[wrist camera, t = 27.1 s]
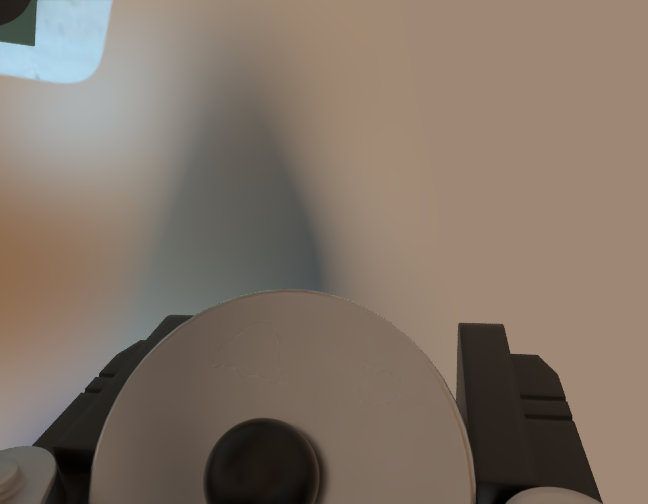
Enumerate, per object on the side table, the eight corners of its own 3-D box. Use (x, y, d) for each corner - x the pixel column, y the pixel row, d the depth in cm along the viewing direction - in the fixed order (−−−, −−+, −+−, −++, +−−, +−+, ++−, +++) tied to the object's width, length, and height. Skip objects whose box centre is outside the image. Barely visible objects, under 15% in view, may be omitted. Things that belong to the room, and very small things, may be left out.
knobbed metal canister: (491, 525, 12) (600, 601, 4) (321, 626, 12) (107, 899, 4) (390, 356, 14) (336, 190, 6) (242, 443, 14) (-13, 388, 6)
